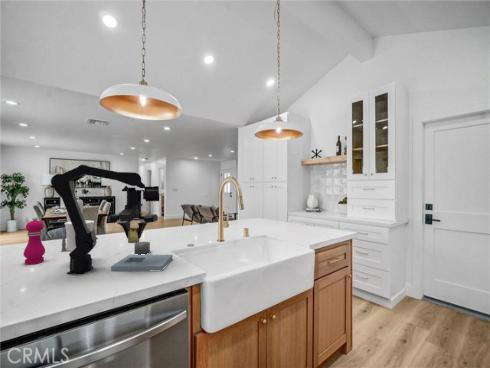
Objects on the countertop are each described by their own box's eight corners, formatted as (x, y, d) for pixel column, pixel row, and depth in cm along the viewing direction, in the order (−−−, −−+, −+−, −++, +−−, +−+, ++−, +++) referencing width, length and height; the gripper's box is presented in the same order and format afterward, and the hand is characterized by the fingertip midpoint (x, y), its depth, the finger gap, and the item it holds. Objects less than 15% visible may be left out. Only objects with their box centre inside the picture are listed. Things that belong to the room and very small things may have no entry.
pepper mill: (20, 263, 104) (20, 217, 104) (40, 259, 110) (41, 215, 110) (27, 266, 100) (28, 218, 101) (48, 261, 107) (49, 216, 107)
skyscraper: (67, 248, 130) (68, 196, 130) (84, 247, 133) (85, 196, 133) (60, 252, 122) (61, 197, 122) (79, 251, 125) (80, 197, 125)
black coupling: (131, 255, 118) (132, 245, 118) (138, 251, 125) (138, 241, 125) (146, 255, 118) (146, 245, 118) (151, 251, 125) (152, 241, 125)
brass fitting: (126, 243, 100) (126, 228, 100) (131, 240, 105) (131, 227, 105) (136, 243, 100) (136, 228, 100) (141, 240, 105) (141, 227, 105)
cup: (78, 268, 99) (79, 224, 99) (57, 266, 101) (58, 223, 101) (99, 260, 109) (99, 220, 109) (79, 258, 111) (80, 220, 111)
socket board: (111, 271, 95) (111, 266, 95) (129, 258, 111) (129, 254, 111) (161, 271, 96) (161, 266, 96) (172, 258, 112) (172, 254, 112)
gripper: (100, 203, 94) (100, 242, 94) (148, 203, 95) (148, 242, 94) (116, 201, 106) (115, 236, 106) (158, 201, 106) (158, 236, 106)
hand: (133, 238), depth 102 cm, fingers closed on brass fitting, 4 cm apart
